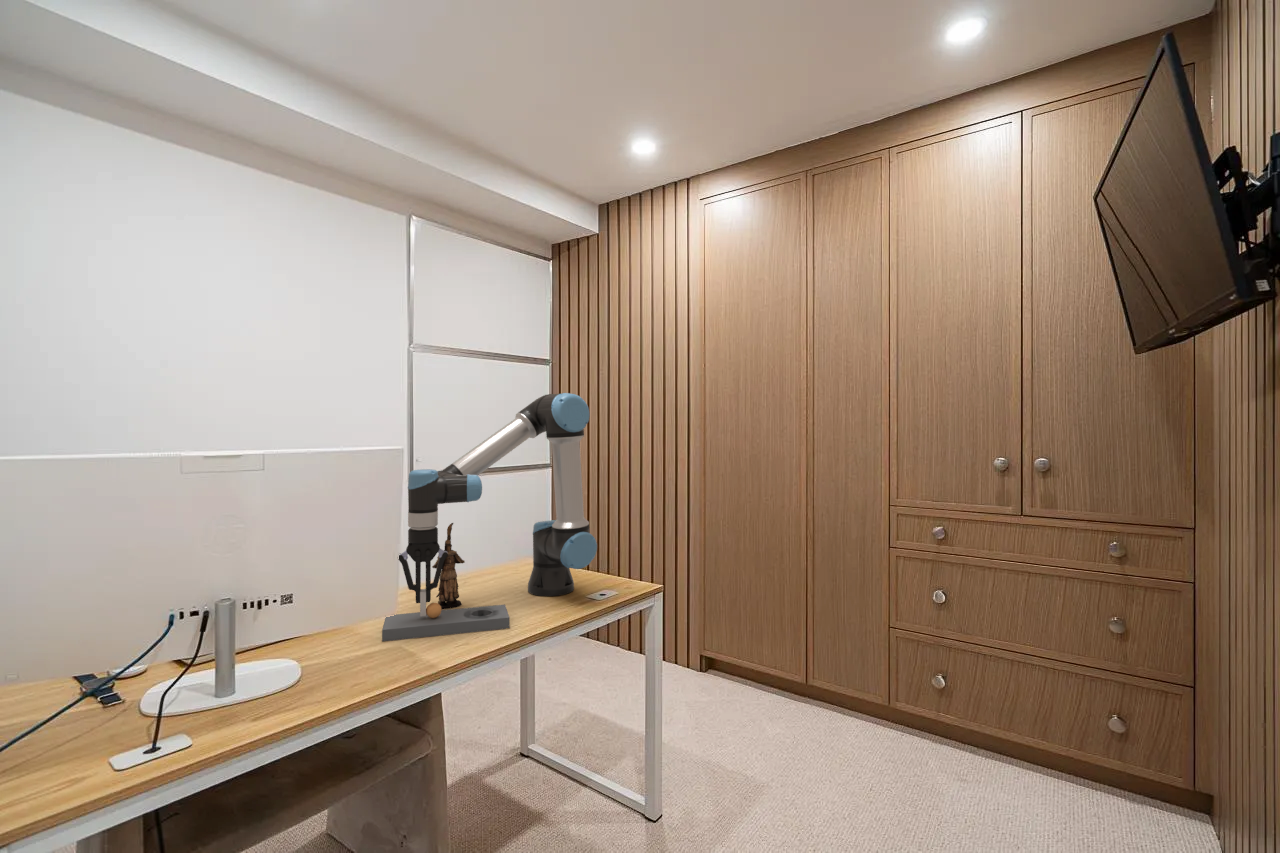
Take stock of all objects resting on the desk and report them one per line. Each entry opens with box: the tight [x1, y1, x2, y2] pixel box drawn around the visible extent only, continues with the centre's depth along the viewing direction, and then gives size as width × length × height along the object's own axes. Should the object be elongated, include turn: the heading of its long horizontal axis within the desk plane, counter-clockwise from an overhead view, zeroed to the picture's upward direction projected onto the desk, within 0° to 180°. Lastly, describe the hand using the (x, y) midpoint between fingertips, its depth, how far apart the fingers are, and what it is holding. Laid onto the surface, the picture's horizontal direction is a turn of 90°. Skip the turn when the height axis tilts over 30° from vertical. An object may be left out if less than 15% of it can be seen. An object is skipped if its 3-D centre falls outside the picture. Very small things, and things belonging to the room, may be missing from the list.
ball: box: [426, 602, 442, 618], centre depth 166 cm, size 4×4×4 cm
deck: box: [381, 604, 511, 643], centre depth 167 cm, size 32×12×3 cm, turn 108°
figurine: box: [431, 522, 466, 610], centre depth 185 cm, size 6×10×25 cm
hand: (423, 614), depth 165 cm, fingers closed
